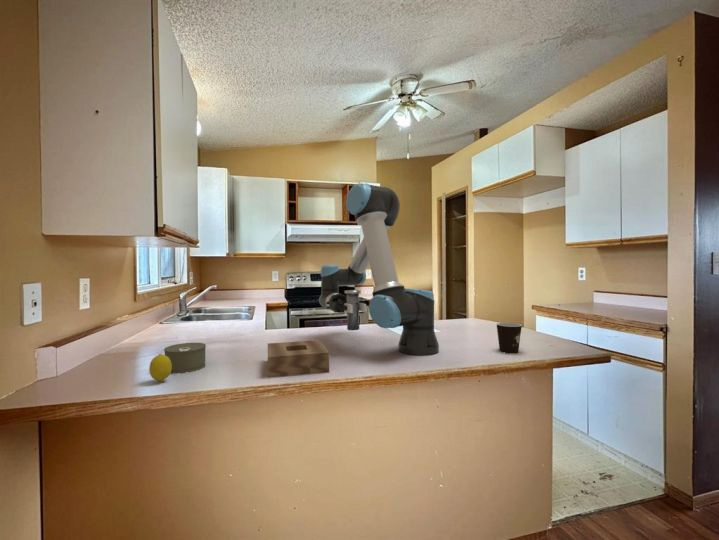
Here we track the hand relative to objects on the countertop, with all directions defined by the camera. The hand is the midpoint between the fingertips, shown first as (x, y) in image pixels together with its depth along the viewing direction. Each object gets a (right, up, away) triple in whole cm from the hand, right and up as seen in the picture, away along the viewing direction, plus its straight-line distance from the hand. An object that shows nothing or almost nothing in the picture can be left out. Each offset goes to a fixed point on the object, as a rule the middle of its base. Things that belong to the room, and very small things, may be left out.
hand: (358, 308), depth 123 cm
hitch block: (-20, -18, -9) cm, 28 cm away
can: (-55, -18, -9) cm, 59 cm away
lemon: (-56, -19, -23) cm, 63 cm away
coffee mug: (+57, -17, +9) cm, 60 cm away
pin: (-2, -8, +5) cm, 10 cm away
